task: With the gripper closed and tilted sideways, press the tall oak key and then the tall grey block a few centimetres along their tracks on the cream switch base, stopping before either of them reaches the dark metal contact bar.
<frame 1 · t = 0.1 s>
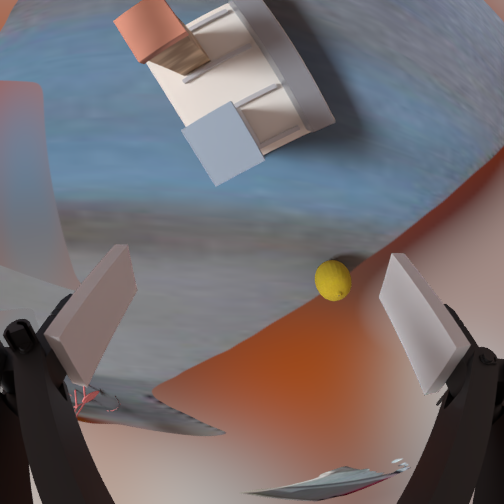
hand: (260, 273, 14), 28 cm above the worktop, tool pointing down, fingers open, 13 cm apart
switch base: (236, 79, 33), on the worktop
lemon: (327, 265, 46), on the worktop
figurine: (96, 397, 70), on the worktop
grey tall block: (231, 136, 28), point 9 cm above the worktop, slide at 0.0 cm
oak key: (172, 42, 23), point 9 cm above the worktop, slide at 0.0 cm
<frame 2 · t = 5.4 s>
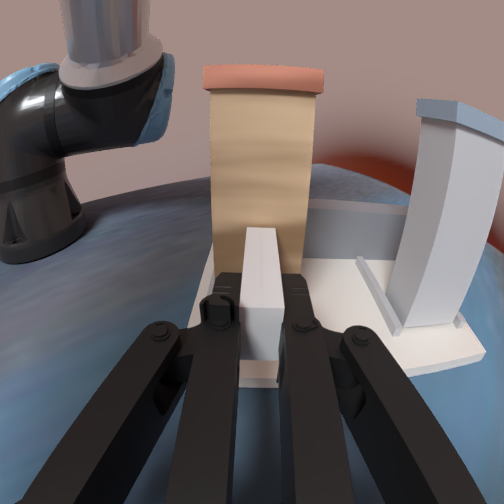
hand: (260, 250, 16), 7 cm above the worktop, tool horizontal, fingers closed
switch base: (332, 297, 23), on the worktop
grey tall block: (449, 219, 16), point 9 cm above the worktop, slide at 0.0 cm
oak key: (259, 201, 17), point 9 cm above the worktop, slide at 0.8 cm, touching gripper
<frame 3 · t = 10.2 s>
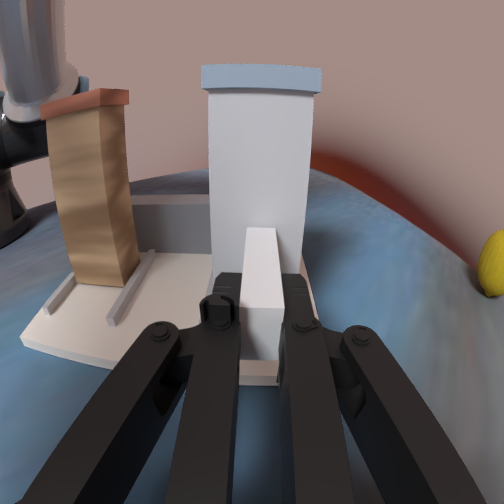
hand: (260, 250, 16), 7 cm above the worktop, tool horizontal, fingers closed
switch base: (177, 291, 23), on the worktop
lemon: (486, 297, 22), on the worktop
grey tall block: (257, 200, 17), point 9 cm above the worktop, slide at 0.7 cm, touching gripper
oak key: (92, 189, 19), point 9 cm above the worktop, slide at 3.9 cm
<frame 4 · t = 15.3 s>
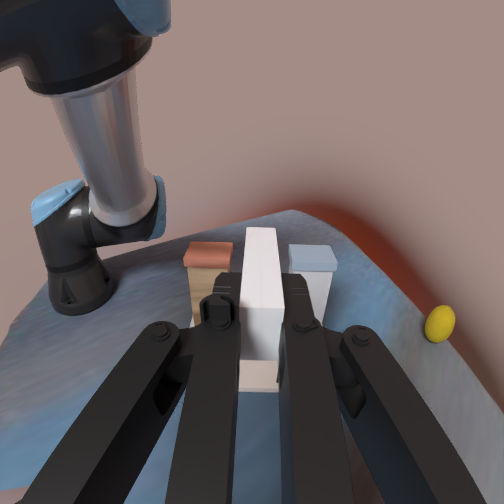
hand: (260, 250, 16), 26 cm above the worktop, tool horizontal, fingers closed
switch base: (256, 345, 43), on the worktop
lemon: (430, 341, 42), on the worktop
grey tall block: (305, 300, 39), point 9 cm above the worktop, slide at 3.9 cm
oak key: (212, 298, 39), point 9 cm above the worktop, slide at 3.9 cm
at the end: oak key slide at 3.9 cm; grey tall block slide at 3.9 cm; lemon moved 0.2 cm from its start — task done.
